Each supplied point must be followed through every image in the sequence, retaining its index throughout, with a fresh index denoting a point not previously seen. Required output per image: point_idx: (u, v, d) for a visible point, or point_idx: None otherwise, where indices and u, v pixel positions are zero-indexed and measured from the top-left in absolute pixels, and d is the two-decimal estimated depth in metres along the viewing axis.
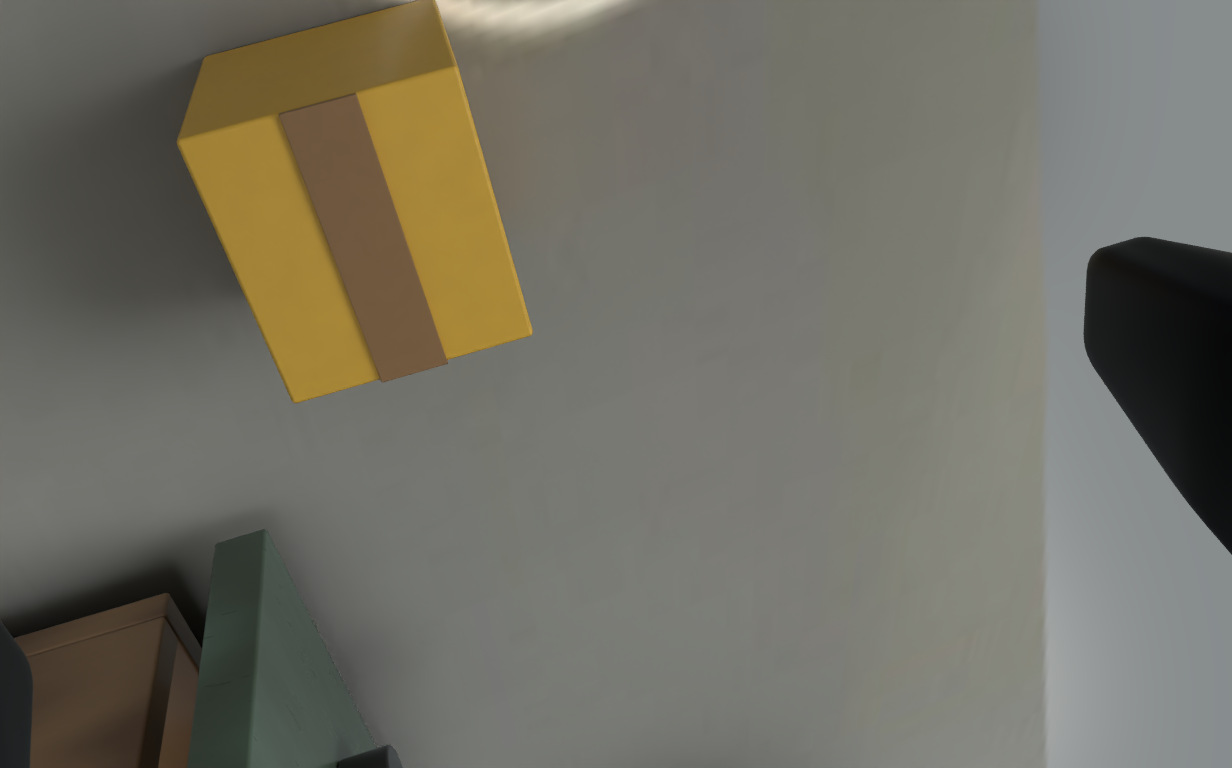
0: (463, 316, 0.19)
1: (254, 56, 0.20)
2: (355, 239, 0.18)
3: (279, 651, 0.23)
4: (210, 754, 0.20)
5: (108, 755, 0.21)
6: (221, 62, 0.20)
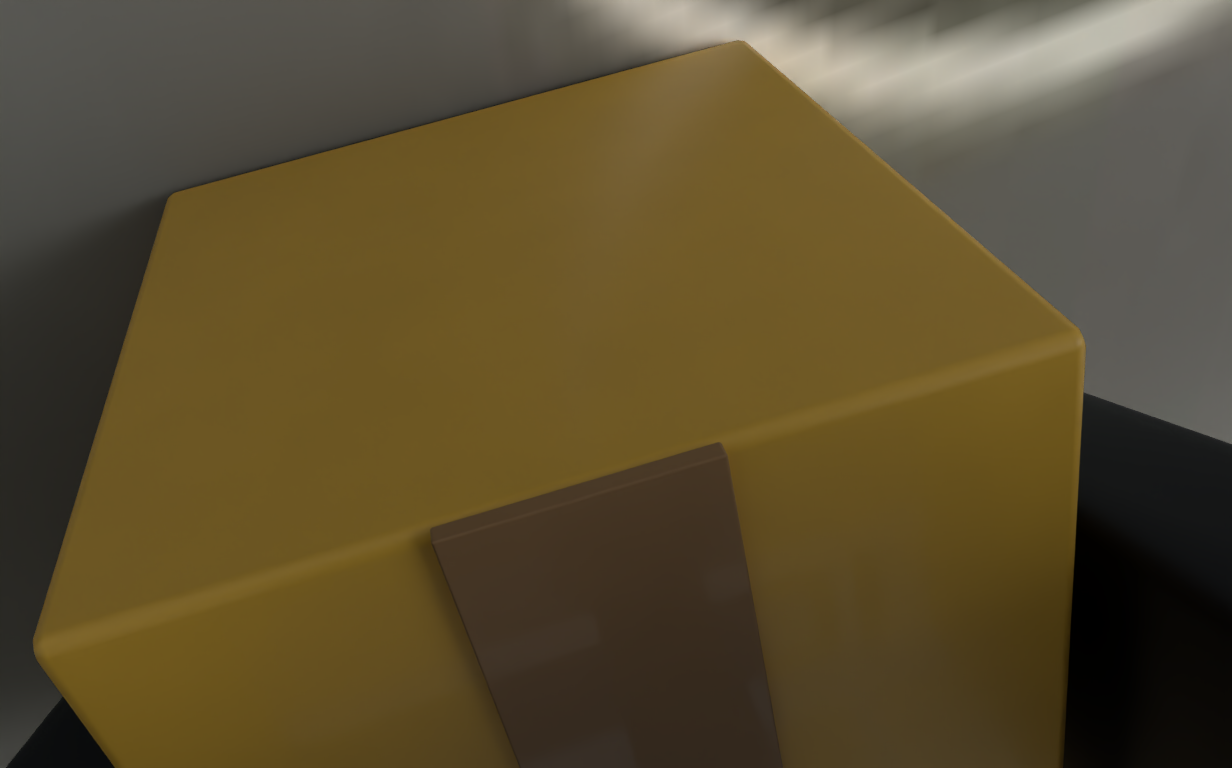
0: None
1: (302, 206, 0.07)
2: None
3: None
4: None
5: None
6: (212, 220, 0.07)
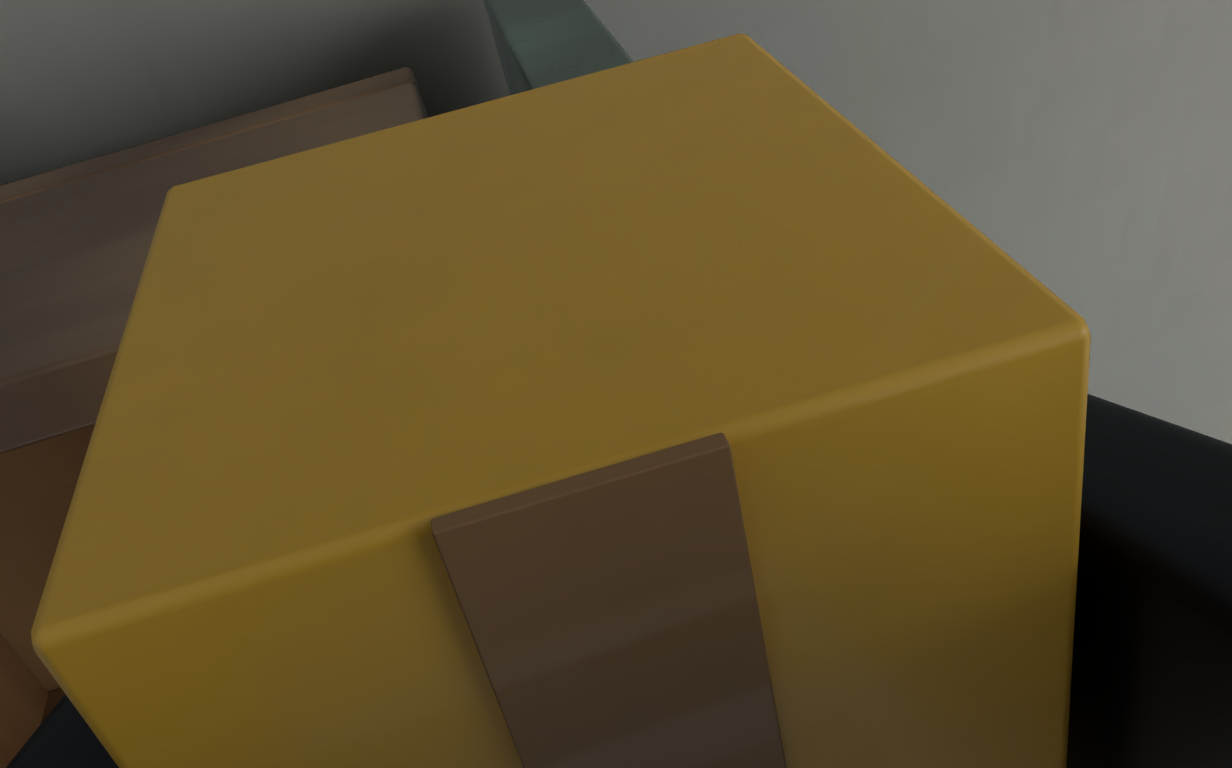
0: None
1: (302, 199, 0.07)
2: None
3: None
4: None
5: None
6: (212, 213, 0.07)
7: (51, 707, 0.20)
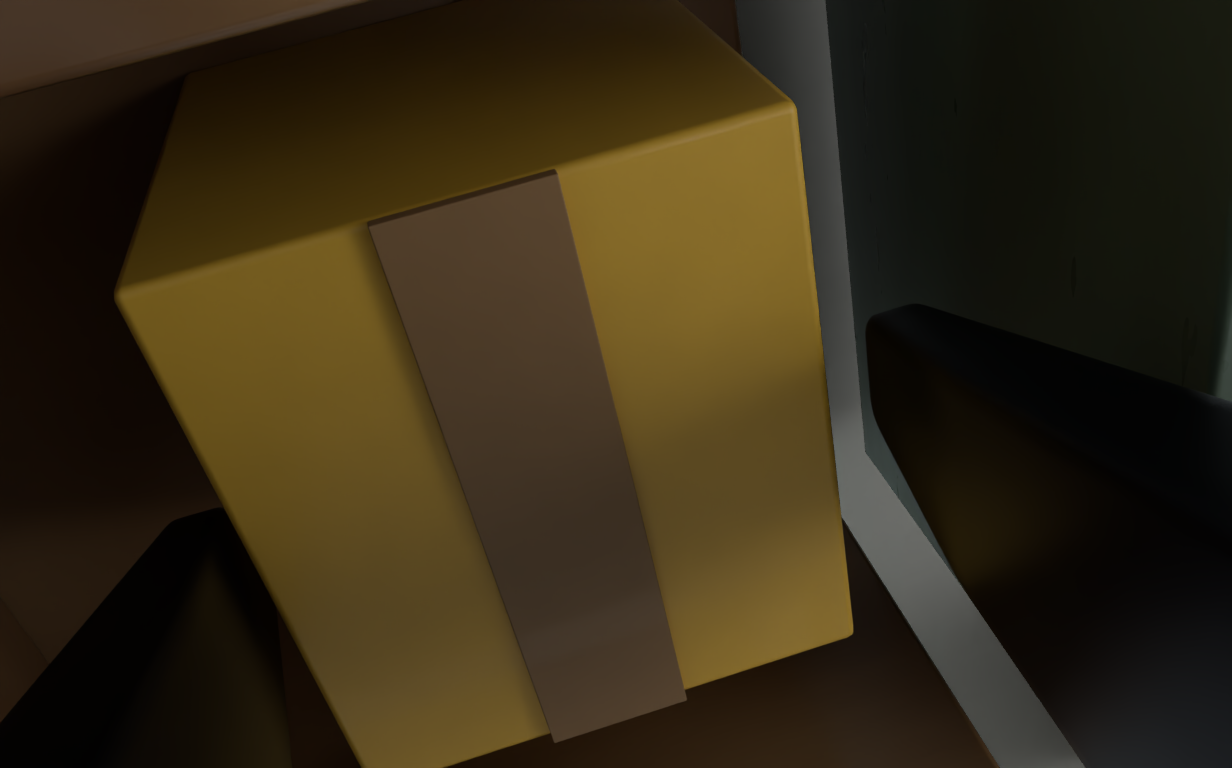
0: (727, 614, 0.09)
1: (287, 74, 0.10)
2: (524, 485, 0.08)
3: None
4: None
5: None
6: (220, 86, 0.10)
7: None
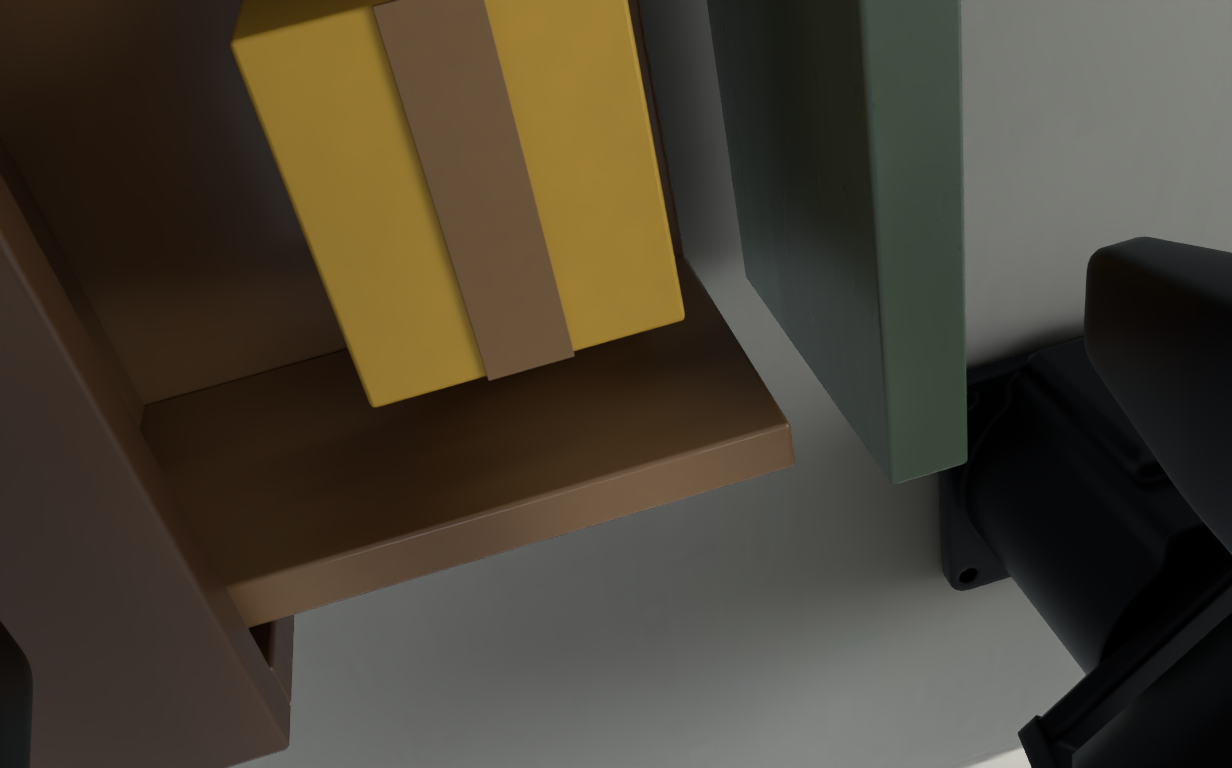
0: (598, 294, 0.15)
1: None
2: (465, 186, 0.13)
3: None
4: None
5: None
6: None
7: (149, 416, 0.19)
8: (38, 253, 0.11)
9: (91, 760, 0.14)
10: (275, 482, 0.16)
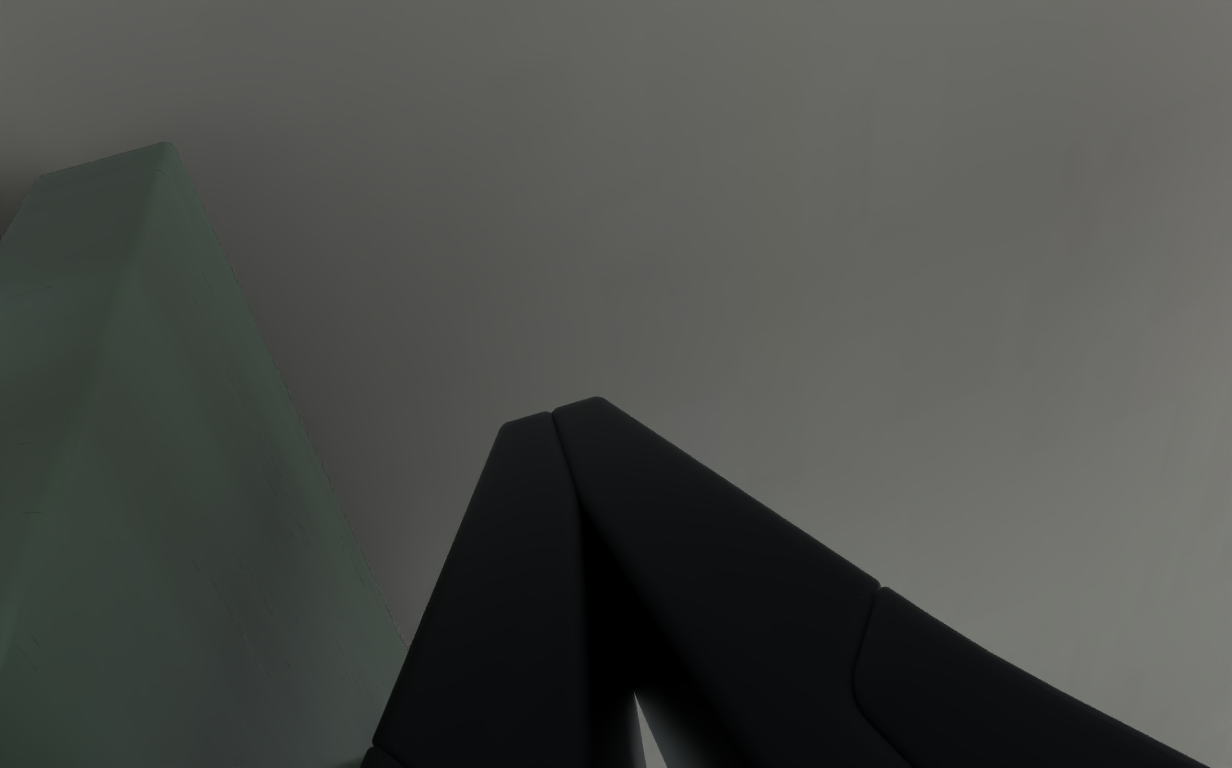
0: None
1: None
2: None
3: (192, 423, 0.08)
4: None
5: None
6: None
7: None
8: None
9: None
10: None
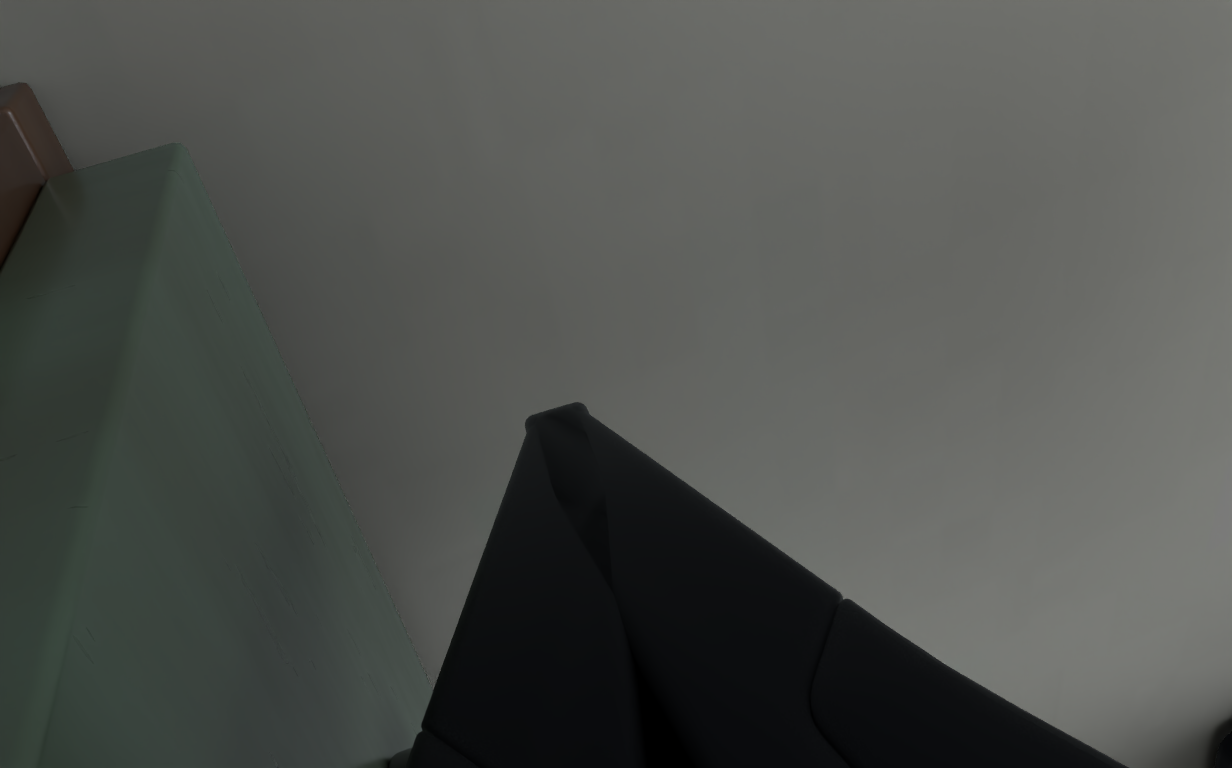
0: None
1: None
2: None
3: (216, 422, 0.08)
4: None
5: None
6: None
7: None
8: None
9: None
10: None
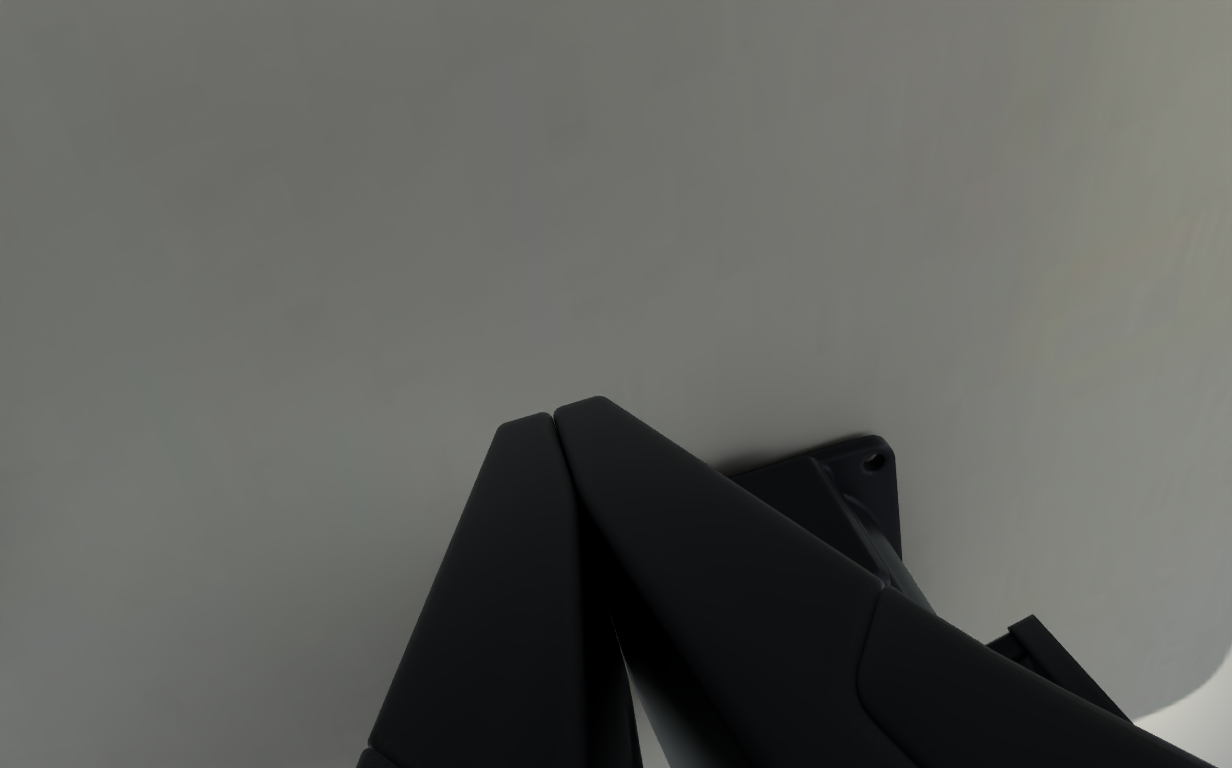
0: None
1: None
2: None
3: None
4: None
5: None
6: None
7: None
8: None
9: None
10: None
